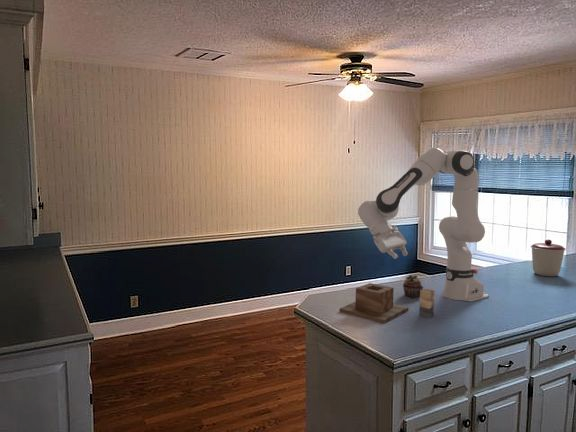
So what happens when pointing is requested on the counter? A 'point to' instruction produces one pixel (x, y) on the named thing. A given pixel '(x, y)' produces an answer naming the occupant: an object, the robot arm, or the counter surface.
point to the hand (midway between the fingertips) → (401, 256)
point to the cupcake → (412, 287)
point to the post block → (374, 304)
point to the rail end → (426, 303)
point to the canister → (547, 258)
